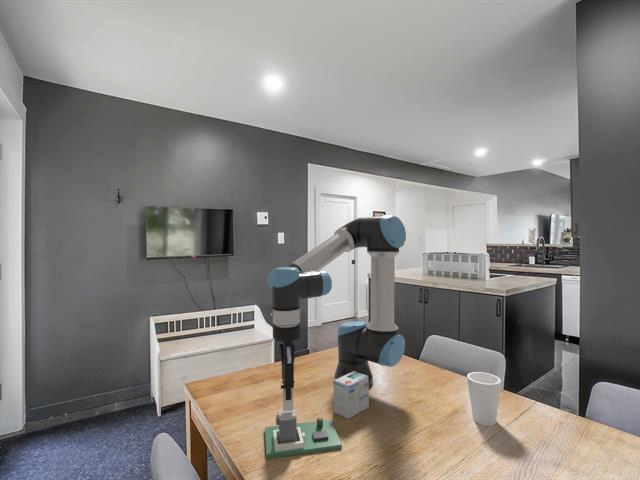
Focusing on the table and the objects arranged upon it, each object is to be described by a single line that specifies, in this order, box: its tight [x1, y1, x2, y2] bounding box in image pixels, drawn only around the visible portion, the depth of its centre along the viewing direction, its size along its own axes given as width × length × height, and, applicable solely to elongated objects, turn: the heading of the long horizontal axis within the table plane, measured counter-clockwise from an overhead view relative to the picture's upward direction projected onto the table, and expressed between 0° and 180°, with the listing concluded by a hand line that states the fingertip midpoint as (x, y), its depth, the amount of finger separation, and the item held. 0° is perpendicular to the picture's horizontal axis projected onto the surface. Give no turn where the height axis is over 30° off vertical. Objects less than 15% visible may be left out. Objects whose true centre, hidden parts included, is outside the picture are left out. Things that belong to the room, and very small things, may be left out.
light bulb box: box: [333, 371, 370, 420], centre depth 111 cm, size 11×7×11 cm, turn 134°
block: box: [275, 407, 297, 444], centre depth 92 cm, size 5×4×8 cm
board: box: [264, 417, 342, 460], centre depth 95 cm, size 20×13×3 cm, turn 101°
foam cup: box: [466, 371, 502, 427], centre depth 104 cm, size 10×9×13 cm
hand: (288, 409), depth 92 cm, fingers closed
